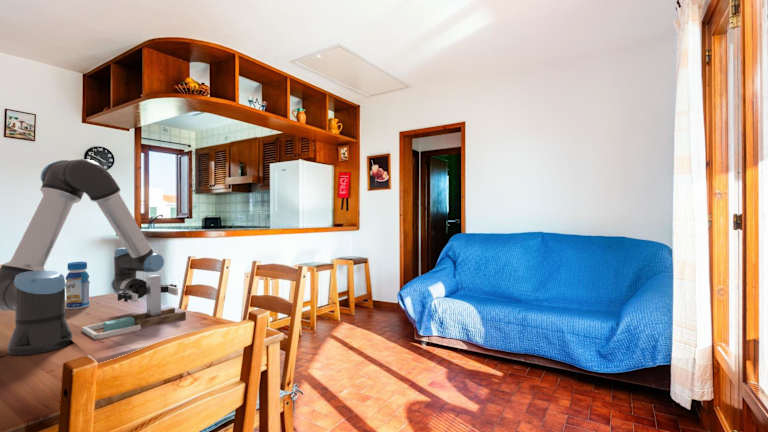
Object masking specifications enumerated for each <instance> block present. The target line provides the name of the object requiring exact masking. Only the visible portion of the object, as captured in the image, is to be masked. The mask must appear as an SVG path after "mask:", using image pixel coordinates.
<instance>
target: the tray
mask: <svg viewBox="0 0 768 432" xmlns="http://www.w3.org/2000/svg"><path fill="white" fill-rule="evenodd" d="M99 329H104V322H100V323H94V324H91V325H86V326H85V325H83V326H82V327H81V332H82V333H83V334H85V335H87V336H89V338H92V339H94V340H101V339H105V338H109V337H115V336H118V335H123V334H127V333H132V332H136V331H141V330H142V328H141V325H136V326H131V327H126V328H122V329H117V330H112V331H108V332H105V331H103V332H99V333H98V332H96V331H95V330H99Z"/></svg>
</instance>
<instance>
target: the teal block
mask: <svg viewBox="0 0 768 432" xmlns="http://www.w3.org/2000/svg"><path fill="white" fill-rule="evenodd" d="M116 319H117V318H116ZM117 320H120V321H121V329H122V328H126V327H131V326H134V318H132V317H127V316H126V317H123V318H118V319H117Z"/></svg>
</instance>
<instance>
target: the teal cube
mask: <svg viewBox="0 0 768 432" xmlns="http://www.w3.org/2000/svg"><path fill="white" fill-rule="evenodd" d="M103 323H104V328H103V332H108V331H112V330H117V329H121V321H120V320H117V318H116V319H111V320H106V321H103Z"/></svg>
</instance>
